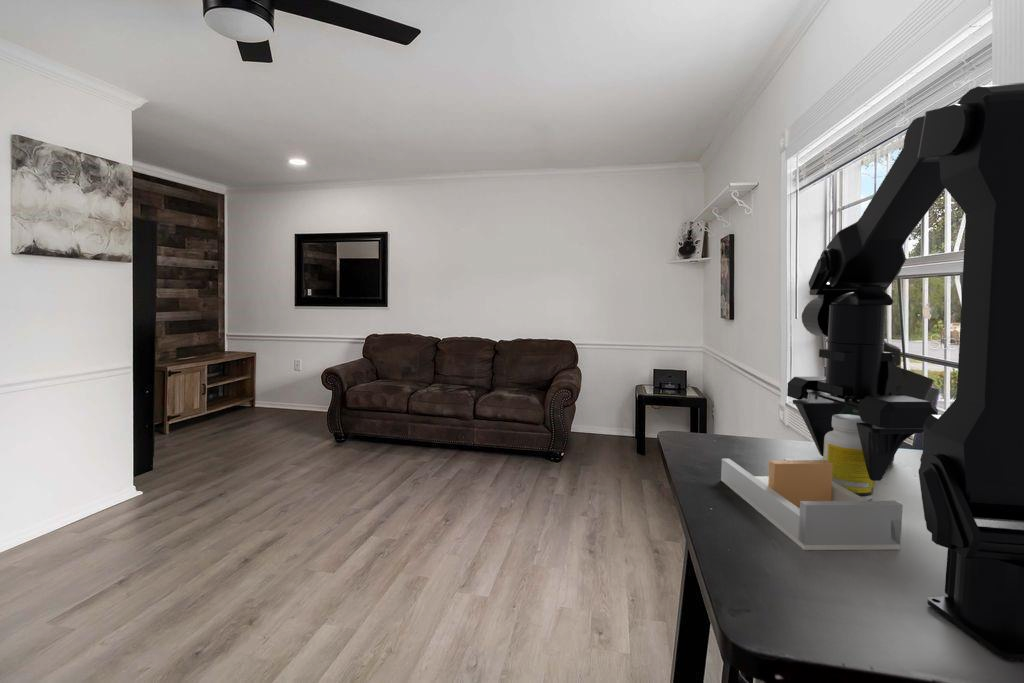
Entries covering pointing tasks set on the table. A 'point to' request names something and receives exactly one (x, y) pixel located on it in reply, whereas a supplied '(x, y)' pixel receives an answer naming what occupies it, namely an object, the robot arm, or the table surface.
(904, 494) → the table surface
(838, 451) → the supplement bottle
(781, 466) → the pusher
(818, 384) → the robot arm
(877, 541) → the lane
